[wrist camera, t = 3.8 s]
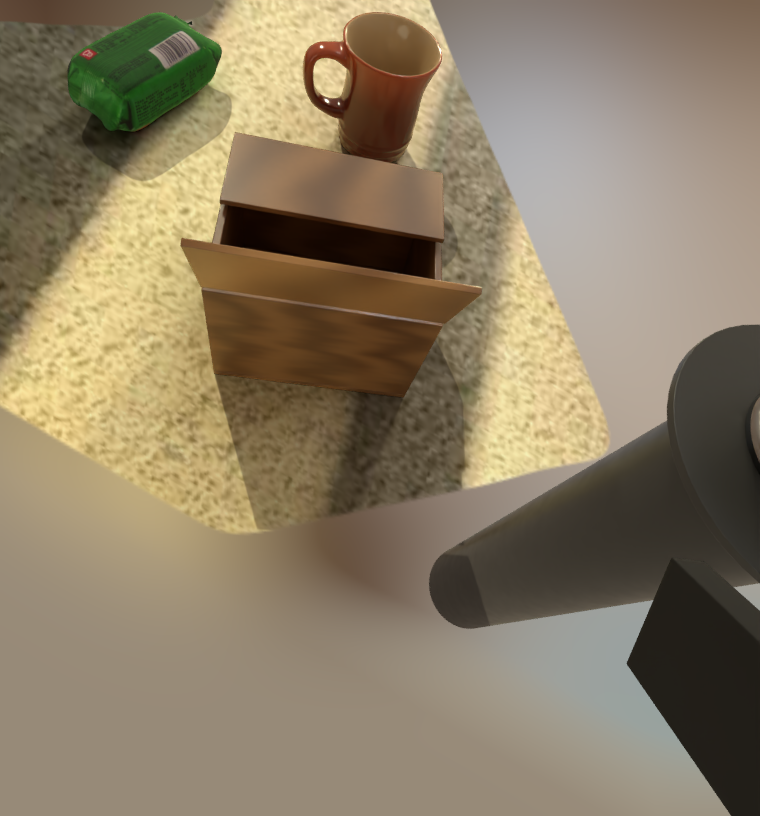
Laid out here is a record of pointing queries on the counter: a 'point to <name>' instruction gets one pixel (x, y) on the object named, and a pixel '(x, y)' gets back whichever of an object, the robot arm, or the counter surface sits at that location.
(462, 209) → the counter surface
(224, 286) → the flap
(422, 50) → the mug
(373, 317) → the carton
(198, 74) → the snack package
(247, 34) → the counter surface
